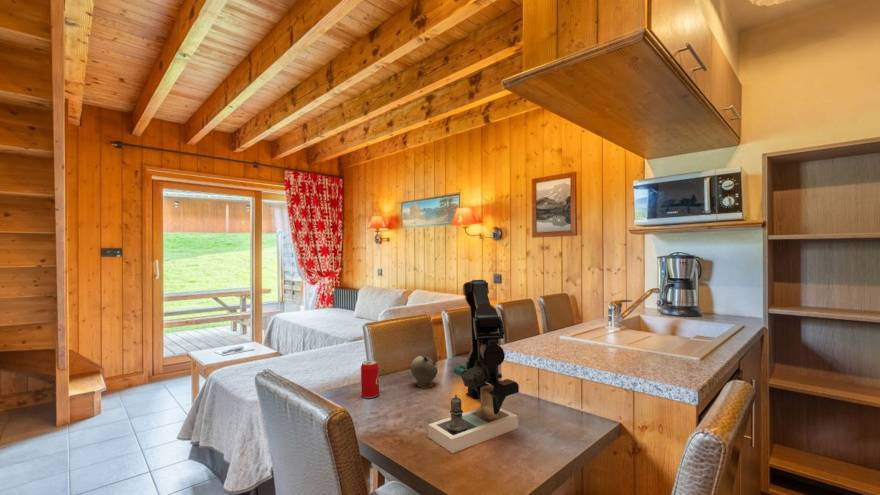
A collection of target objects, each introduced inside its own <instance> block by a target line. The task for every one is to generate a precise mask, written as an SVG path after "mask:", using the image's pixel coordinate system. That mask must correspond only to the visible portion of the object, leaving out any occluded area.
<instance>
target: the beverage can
mask: <svg viewBox="0 0 880 495" xmlns="http://www.w3.org/2000/svg"><path fill="white" fill-rule="evenodd" d="M379 370H380V369H379V364H378V362H377V361H376V360H372V359H371V360H365V361H363V362H362V363H361V366H360V384H361V385H360V386H361V387H360V388H361V396H362V397H363V398H365V399H373V398H376V397H378V396H379V395H380V378H379V376H380V374H379Z"/></svg>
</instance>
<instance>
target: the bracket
mask: <svg viewBox="0 0 880 495" xmlns="http://www.w3.org/2000/svg"><path fill="white" fill-rule="evenodd" d="M465 366H466V364H458V365H455V366H454V367H453V368H454V369H453V372H454V374H455V375H457V376H460V377H461V375H462V373H463V371H464V370H465Z"/></svg>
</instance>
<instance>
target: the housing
mask: <svg viewBox="0 0 880 495" xmlns="http://www.w3.org/2000/svg"><path fill="white" fill-rule="evenodd" d="M518 416H519V415H517V414H514V413H513V412H510V411H508V410H506V409H504V408H502V407H501V408H500V410H499V419H498V420H495V421H493V422H490V423H488V422H486V421H484V420H482V419H481V407H478V408H475V409H472V410H468V411H465V412H463V413H462V420H463V422H465V423H467V425H468V427H467V430H466V431H464V432H461V433H459V434H456V435H452V434H450V433H448V430H447V428H446V425H447V423H449V422H451V416H450V417H447V418H444V419H441V420H437V421H435V422H432V423H429V424H428V426H427V428H428V438H429V439H430V440H432V441H433V442H435V443H437V444H438V445H439V446H441V447H443V448H444V449H445V450H446V451H449V453H452V454H454V453H456V452H460V451H462V450H465V449H467V448H470V447H473V446H475V445H478V444H479V443H483V442H485V441H488V440H491V439H493V438H497V437H498V436H499V437H500V436H501V435H504V434H506V433H509V432H511V431H515V430H517V429H518V428H519V418H518Z"/></svg>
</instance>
